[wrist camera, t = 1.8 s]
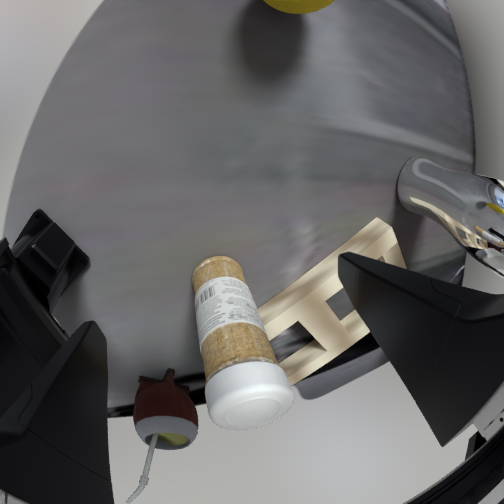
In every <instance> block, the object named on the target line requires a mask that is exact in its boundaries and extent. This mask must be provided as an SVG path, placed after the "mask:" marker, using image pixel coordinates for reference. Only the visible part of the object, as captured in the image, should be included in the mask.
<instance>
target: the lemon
mask: <svg viewBox="0 0 504 504" xmlns="http://www.w3.org/2000/svg"><path fill="white" fill-rule="evenodd" d="M263 1H265V2H266V3H267V4H268V5H270V6H271V7H273V8H275V9H277V10H280V11H282V12H286V13H291V14H306V13H310V12H315V11H318V10H320V9H322V8H324V7H326V6H328V5H330V4H331V3H332V2H333V1H334V0H263Z"/></svg>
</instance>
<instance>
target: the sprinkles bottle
mask: <svg viewBox="0 0 504 504" xmlns="http://www.w3.org/2000/svg"><path fill="white" fill-rule="evenodd" d="M192 285H193V288H194V291H195V313H196V322H197V330H198V338H199V345H200V352H201V355H202V358H203V364H204V370H205V376H206V383H205V386H206V387H205V397H206V402H207V408H208V412H209V416H210V418H211V419H212V421H213V422H214V423H215V424H216V425H218V426H220V427H223V428H226V429H232V430H247V429H253V428H258V427H262V426H265V425H267V424H270V423H272V422H274V421H276V420H277V419H279V418H281V417H282V416H283V415H284V414H286V413H287V412H288V411H289V410H290V408H291V406H292V405H293V401H294V394H293V391H292V389H291V386H290V383H289V381H288V379H287V376H286V374H285V372H284V370H283V369H282V368H281V366H280V365H279V364H278V363H277V361H276V358H275V355H274V353H273V350H272V348H271V345H270V342H269V339H268V335H267V333H266V330H265V328H264V325H263V323H262V320H261V318H260V315H259V313H258V310H257V307H256V305H255V302H254V300H253V297H252V295H251V292H250V290H249V288H248V287H247V284H246V282H245V279H244V274H243V271H242V268H241V266H240V265H239V264H238V263H237V262H236V261H234V260H233V259H231V258H229V257H226V256H216V257H211V258H208V259H205V260H204V261H202V262H201V263H200V264H199V265H198V266H197V267H196V269H195V270H194V273H193V276H192Z"/></svg>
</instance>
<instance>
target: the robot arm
mask: <svg viewBox="0 0 504 504" xmlns="http://www.w3.org/2000/svg"><path fill="white" fill-rule="evenodd" d="M37 214H39V215H40V218H39V217H38V216H37ZM8 245H9V243H8V241H7V239H6V237H5V238H3V239H2V240H0V504H114V498H113V491H112V483H111V475H110V464H109V450H108V426H107V393H108V369H107V343H106V338H105V336H104V334H103V333H102V331H101V330H100V328H99V327H98V325H97V323H96V322H95V321H93V320H92V321H88V322H84V323H83V324H82V325H81V326H80V327H79V328H78V329H77V330H76V331H75V333H74V334H73V335H72V336H71V337H70V338H69V335H68V334H67V333H66V331H65V330H62V328H61V327H60V326H59V324H58V323H57V322H56V320H55V319H54V318H53V316H52V315H51V313H52V311H53V309H54V307H55V305H56V303H57V301H58V299H59V297H60V296H61V295H62V294H63V292H64V291H65V290H66V289H67V288H68V286H69V285H70V284H71V283H72V282H73V281H74V279H75V278H76V277H77V276H78V275H79V274H80V273H81V271H82V270H83V269H84V268H85V267H86V266H87V264H88V262H89V257H88V256H87V255H86V254H85V253H84V252H83V251H82V250H81V249H80V248H79V247H78V246H77V245H76V244H75V242H74V241H73V240H72V239H71V238H70V237H69V236H68V235H67V234H66V233H65V232H64V231H63V230H62V229H61V228H60V227H59V226H58V225H57V224H56V223H54V222H53V221H52V220H51V219H50V218H49V217H48V216H47V215H46V214H45V213H44V212H43V211H42V210H41V209H37V210H36V211H35V212H34V213H33V215H32V216H31V218H30V219H29V221H28V222H27V224H26V225H25V227H24V229H23V230H22V232H21V233H20V235H19V237H18V238H17V240H16V242H15V244H14V245H13V247H12V248H11V249H10V248H9V246H8ZM81 259H84V260H85V262H83V261H82V260H81ZM338 277H339V280H340V282H341V284H342V285H343V287H344V289H345V291H346V293H347V295H348V296H349V298H350V300H351V302H352V304H353V306H354V308H355V309H356V311H357V313H358V314H359V316H360V317H361V319H362V320H363V322H364V323H365V324H366V326H367V327H368V329H369V330H370V332H371V333H372V335H373V336H374V338H375V339H376V341H377V342H378V344H379V345H380V347H381V348H382V350H383V351H384V353H385V354H386V356H387V358H388V359H389V361H390V362H391V364H392V365H393V366H394V368H395V370H396V371H397V373H398V375H399V376H400V378H401V379H402V381H403V383H404V384H405V386H406V387H407V389H408V391H409V392H410V393H411V395H412V397H413V399H414V400H415V402H416V404H417V406H418V407H419V409H420V410H421V412H422V414H423V416H424V417H425V419H426V421H427V422H428V424H429V425H430V428H431V429H432V431H433V433H434V435H435V436H436V438H437V440H438V442H439V443H440V445H441V446H442V447H444V446H445V445H446V444H448V443H449V442H450V441H452V440H453V439H454V438H455V437H457V436H458V435H459V434H461V433H462V432H463V431H464V430H465V429H467V428H468V427H469V426H470V425H471V424H474V425H475V426H476V428H477V429H478V431H477V432H476V433H475V434H474V435H473V436H472V437H471V438H470V439H469V443H468V449H467V453H466V458H465V461H464V462H463V463H461V464H460V465H459V466H458V467H456V468H455V469H454V470H453V471H451V472H450V473H449V474H447V475H446V476H445V477H443V478H442V479H441V480H439V481H438V482H436V483H435V484H433V485H432V486H430V487H429V488H427V489H426V490H424V491H423V492H421V493H420V494H418V495H417V496H415V497H413V498H412V499H410V500H408V501H407V502H405V503H403V504H504V294H498V295H497V294H490V293H486V292H482V291H478V290H474V289H470V288H466V287H462V286H459V285H455V284H452V283H448V282H445V281H442V280H439V279H436V278H433V277H429V276H426V275H423V274H420V273H417V272H414V271H411V270H408V269H405V268H401V267H398V266H395V265H392V264H389V263H385V262H382V261H379V260H376V259H373V258H369V257H366V256H363V255H359V254H356V253H353V252H349V251H348V252H344V253H341V254H339V255H338Z"/></svg>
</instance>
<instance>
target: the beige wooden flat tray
mask: <svg viewBox="0 0 504 504" xmlns="http://www.w3.org/2000/svg"><path fill="white" fill-rule="evenodd" d="M348 251H349V252H353V253H356V254H359V255H363V256H366V257H369V258H373V259H376V260H379V261H382V262H385V263H389V264H392V265H395V266H398V267H401V268H405V269H407V268H406V265H405V262H404V259H403V256H402V253H401V250H400V248H399V245H398V242H397V239H396V237H395V234H394V231H393V229H392V227H391V226H389V225H388V224H386V223H385V222H383V221H382V220H380V219H379V218H377V217H376V218H375V219H374V220H372V221H371V222H370V223H369V224H368V225H366V226H365V227H364V228H363V229H361V230H360V231H359V232H358V233H357V234H355V235H354V236H353V237H352V238H350V239H349V240H348V241H347V242H345V243H344V244H343V245H342V246H340V247H339V248H338V249H337V250H335V251H334V252H333V253H331V254H330V255H329V256H328V257H326V258H325V259H324V260H322V261H321V262H320V263H319V264H317V265H316V266H315V267H313V268H312V269H311V270H309V271H308V272H307V273H306V274H304V275H303V276H302V277H300V278H299V279H298V280H296V281H295V282H294V283H292V284H291V285H290V286H288V287H287V288H286V289H284V290H283V291H282V292H280V293H279V294H277V295H276V296H275V297H273V298H272V299H271V300H269V301H268V302H266V303H265V304H264V305H262V306H261V307H260V308H258V309H257V310H258V313H259V315H260V318H261V320H262V323H263V325H264V328H265V330H266V333H267V335H268V339H269V341H270V340H271V339H273V338H274V337H276V336H277V335H278V334H280V333H281V332H283V331H284V330H286V329H287V328H289V327H290V326H291V325H293V324H294V323H296V322H297V321H299V322H300V323H301V324H302V325H303V326H304V327H305V328H306V329H307V330H308V331H309V332H310V333H311V334H312V335H313V336H314V338H315V339H314V340H313V341H312V342H310V343H309V344H307V345H306V346H304V347H303V348H301V349H300V350H298V351H297V352H295V353H294V354H292V355H291V356H289V357H288V358H286V359H285V360H283V361H282V362H280V363H279V365H280V366H281V368H282V369H283V370H284V372H285V374H286V376H287V379H288V381H289V383H290V386H292V385H293V384H295V383H297V382H298V381H300V380H301V379H303V378H305V377H306V376H308V375H309V374H311V373H312V372H314V371H315V370H317V369H319V368H320V367H322V366H323V365H325V364H326V363H327V362H329V361H330V360H332V359H333V358H335V357H336V356H338V355H339V354H340V353H342V352H343V351H345V350H346V349H347V348H349V347H350V346H352V345H353V344H354V343H356V342H357V341H358V340H360V339H361V338H362V337H364V336H365V335H366V334H368V333H369V332H370V330H369V329H368V327H367V326H366V324H365V323H364V322H363V320H362V319H361V317H360V316H359V314H358V313H357V311H356V309H355V310H354V311H353V312H351V313H350V314H349V315H347V316H346V317H345V318H343V319H342V320H341V321H339V319H338V318H337V317H336V315H335V314H334V313H333V311H332V310H331V309H330V307H329V306H328V304H327V303H326V302H325V301H326V300H327V299H328V298H330V297H331V296H332V295H334V294H335V293H336V292H338V291H339V290H340V289H341V288H343V285H342V284H341V282H340V280H339V277H338V255H339V254H341V253H344V252H348Z"/></svg>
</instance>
